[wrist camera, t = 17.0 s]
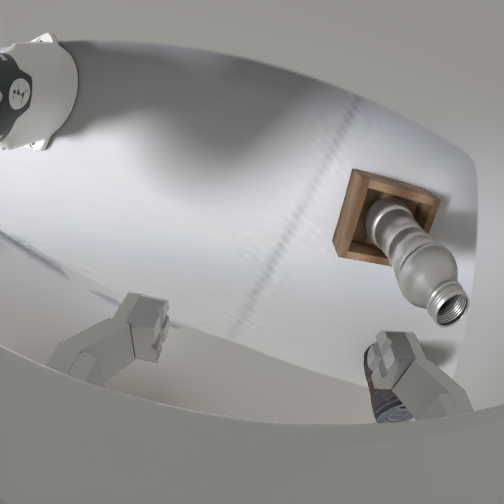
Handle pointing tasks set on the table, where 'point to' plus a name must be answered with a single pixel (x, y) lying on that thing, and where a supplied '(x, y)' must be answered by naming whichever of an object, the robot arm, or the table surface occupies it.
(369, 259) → the open wooden box
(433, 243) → the plastic bottle
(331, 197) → the table surface
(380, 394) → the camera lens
